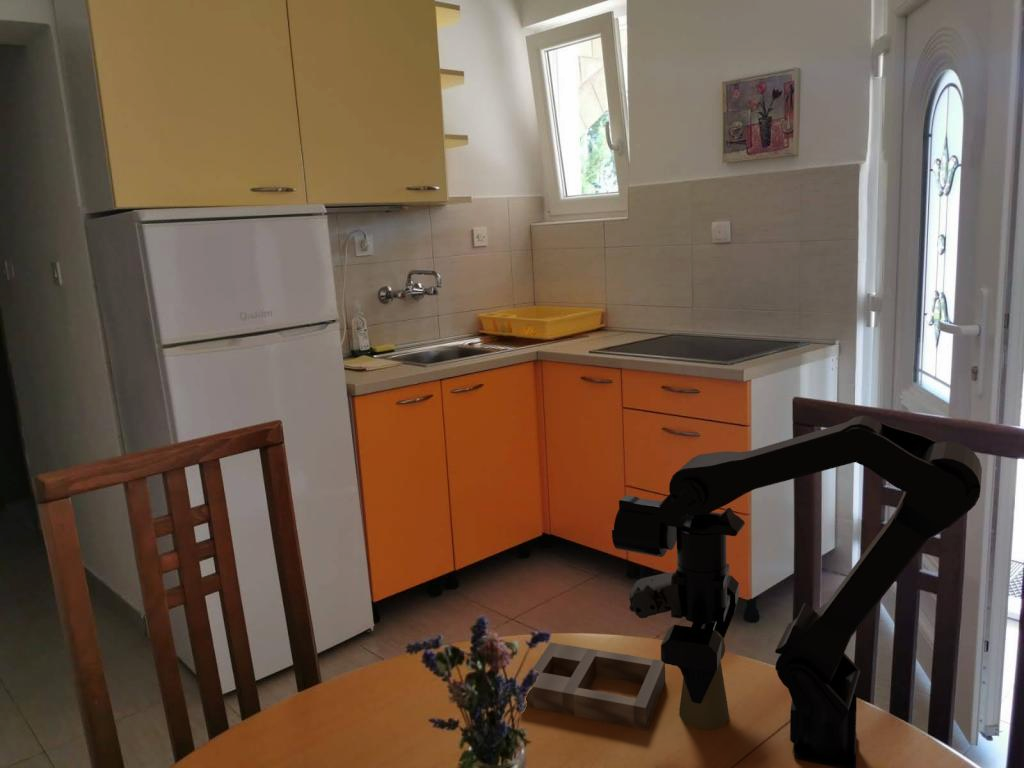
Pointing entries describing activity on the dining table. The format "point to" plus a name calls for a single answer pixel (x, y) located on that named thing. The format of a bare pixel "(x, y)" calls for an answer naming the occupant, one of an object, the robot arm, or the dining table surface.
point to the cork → (707, 703)
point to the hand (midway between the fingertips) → (703, 680)
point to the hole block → (574, 673)
